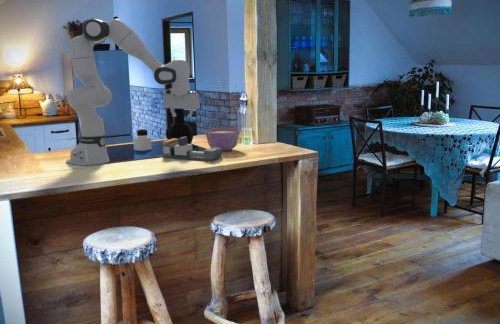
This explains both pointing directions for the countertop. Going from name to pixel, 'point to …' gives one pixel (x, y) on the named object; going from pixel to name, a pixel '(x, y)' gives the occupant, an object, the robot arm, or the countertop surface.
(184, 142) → the carriage
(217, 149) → the rail
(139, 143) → the medicine bottle
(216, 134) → the bowl of food
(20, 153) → the countertop surface
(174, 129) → the bottle
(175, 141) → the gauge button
